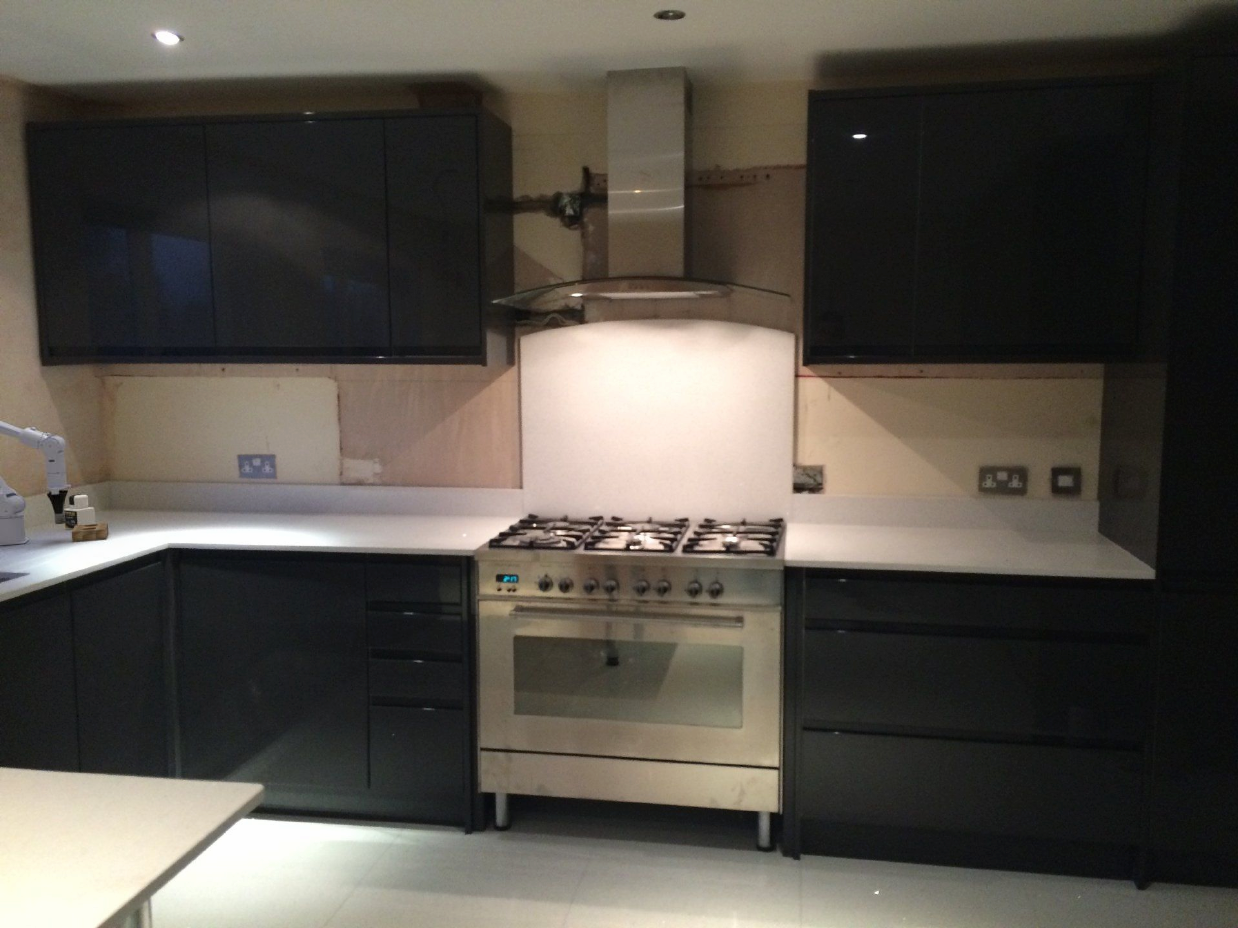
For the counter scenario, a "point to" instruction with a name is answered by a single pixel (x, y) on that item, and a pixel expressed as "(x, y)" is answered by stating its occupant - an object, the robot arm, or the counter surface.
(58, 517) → the steel pin
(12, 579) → the counter surface
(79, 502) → the medicine bottle
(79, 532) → the hole block
